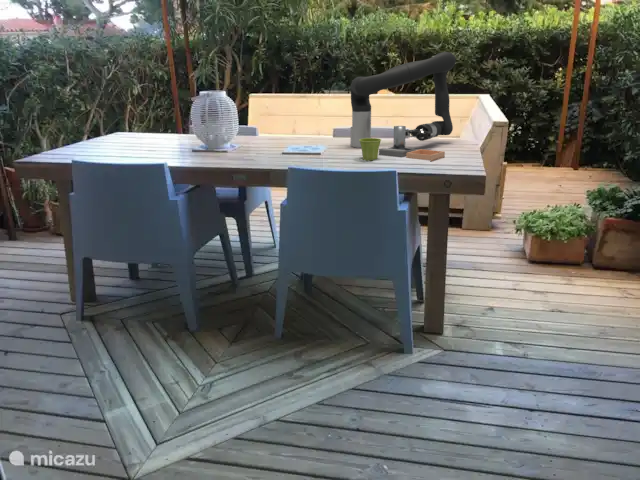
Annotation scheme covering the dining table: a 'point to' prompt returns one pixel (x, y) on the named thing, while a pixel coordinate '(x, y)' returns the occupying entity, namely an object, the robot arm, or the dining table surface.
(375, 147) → the plant pot
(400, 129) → the grey upright cylinder
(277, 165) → the dining table surface
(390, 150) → the bin
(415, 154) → the bin
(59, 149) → the dining table surface
